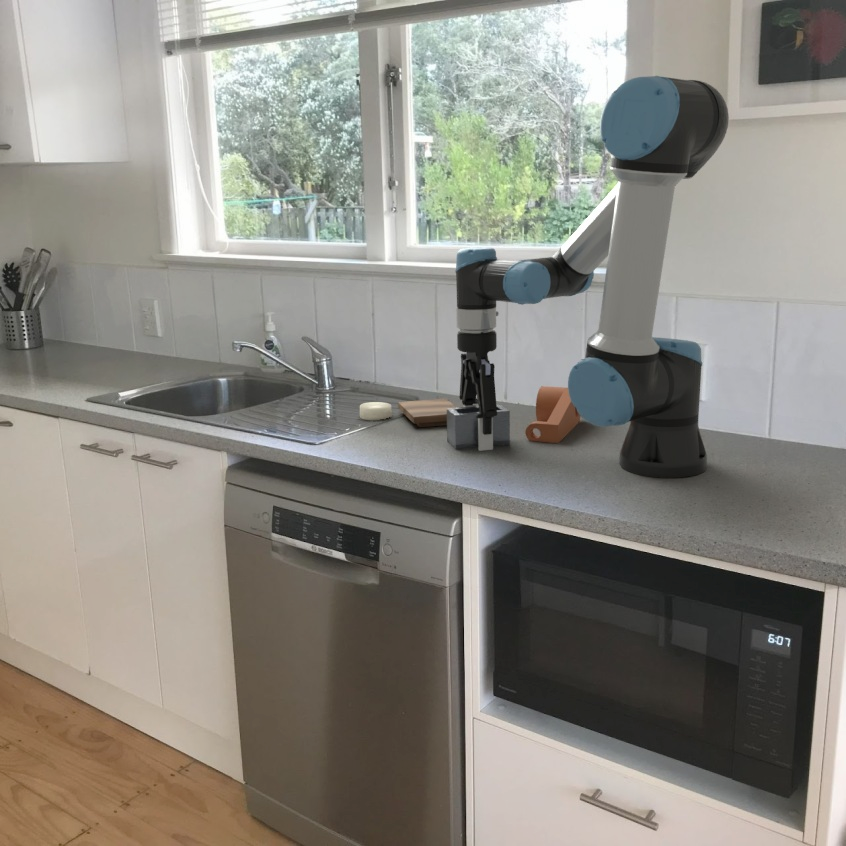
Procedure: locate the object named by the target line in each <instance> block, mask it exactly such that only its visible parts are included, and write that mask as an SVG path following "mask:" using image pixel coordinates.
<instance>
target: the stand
mask: <svg viewBox="0 0 846 846" xmlns="http://www.w3.org/2000/svg"><path fill="white" fill-rule="evenodd" d="M449 408H458V407H457V406H456V405H455V404H453V403H452V402H451V401H449V400H448V399H447V398H446V397H445V398H444V397H443V398H435V399H434V398H433V399H422V400H421V399H420V400H408V401H398V402H397V409H398V410H400V412H401V413H403V415H404V416H406V417H407V419H408V420H410V421H411V423H413V424H415V425H417V426H418V427H419V428H422V427H423V428H424V427H425V428H426V427H435V426H437V427H439V426H447V409H449Z"/></svg>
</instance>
